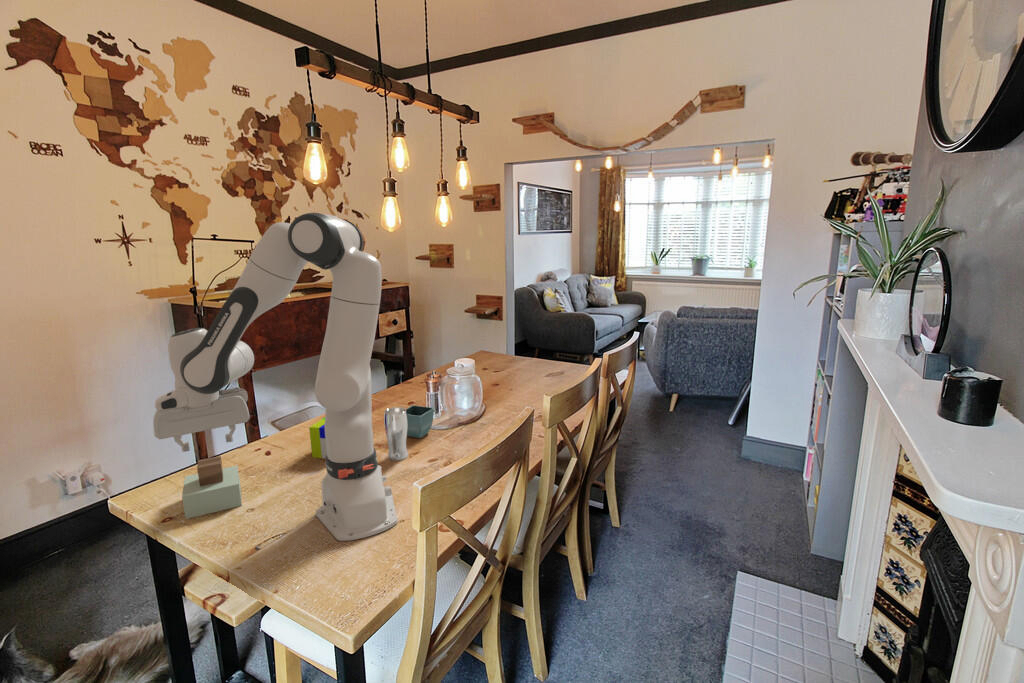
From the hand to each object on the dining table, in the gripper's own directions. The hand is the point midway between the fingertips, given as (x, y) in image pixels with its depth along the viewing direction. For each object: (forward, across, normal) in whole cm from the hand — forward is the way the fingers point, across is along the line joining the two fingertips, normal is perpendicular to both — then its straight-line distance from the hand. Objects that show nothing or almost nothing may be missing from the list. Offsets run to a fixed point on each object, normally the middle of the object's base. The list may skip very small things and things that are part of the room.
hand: (208, 446), depth 123 cm
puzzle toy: (+16, -32, -16) cm, 39 cm away
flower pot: (+17, -59, -14) cm, 63 cm away
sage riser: (+15, +1, 0) cm, 15 cm away
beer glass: (+17, -48, -1) cm, 51 cm away
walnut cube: (+9, +1, 0) cm, 9 cm away
